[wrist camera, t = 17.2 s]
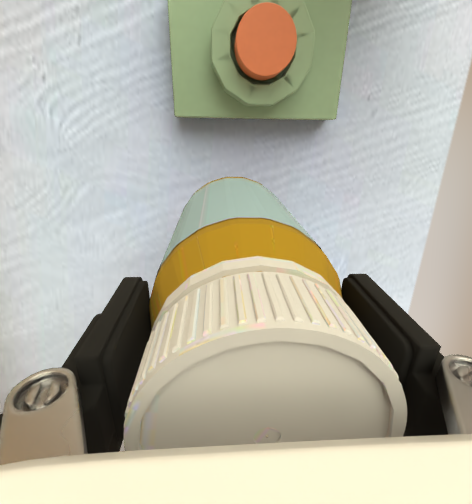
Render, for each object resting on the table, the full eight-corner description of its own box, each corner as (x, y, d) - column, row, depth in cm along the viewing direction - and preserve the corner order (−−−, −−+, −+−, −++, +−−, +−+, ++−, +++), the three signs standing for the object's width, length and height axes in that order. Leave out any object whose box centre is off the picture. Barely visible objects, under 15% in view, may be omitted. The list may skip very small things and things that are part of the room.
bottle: (246, 152, 18) (339, 226, 4) (301, 237, 21) (469, 455, 7) (160, 215, 19) (21, 427, 6) (221, 288, 22) (228, 560, 8)
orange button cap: (233, 79, 19) (235, 75, 18) (234, 12, 18) (236, 0, 16) (287, 81, 19) (294, 76, 18) (292, 14, 18) (300, 3, 16)
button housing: (178, 117, 23) (171, 115, 19) (170, -11, 20) (160, -43, 16) (326, 120, 24) (346, 118, 20) (341, -3, 21) (368, -32, 17)
